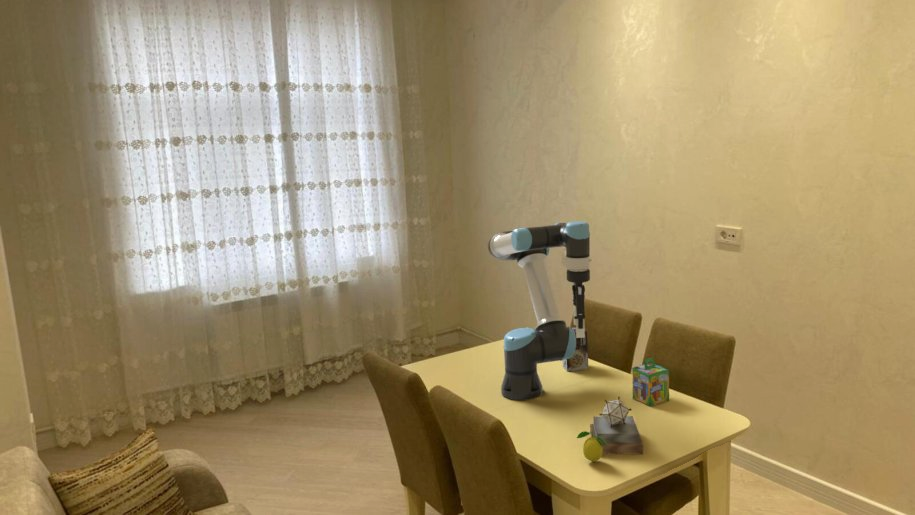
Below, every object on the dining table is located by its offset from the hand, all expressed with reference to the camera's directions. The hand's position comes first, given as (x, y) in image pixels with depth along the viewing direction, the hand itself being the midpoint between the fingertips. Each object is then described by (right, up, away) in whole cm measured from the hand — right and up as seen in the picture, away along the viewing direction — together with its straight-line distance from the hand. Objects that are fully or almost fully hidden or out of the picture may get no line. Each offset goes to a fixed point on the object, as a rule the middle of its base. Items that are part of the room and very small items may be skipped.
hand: (579, 330), depth 223 cm
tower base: (+7, -32, -20) cm, 38 cm away
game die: (+7, -26, -21) cm, 34 cm away
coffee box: (+7, -20, +45) cm, 50 cm away
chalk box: (+27, -25, +10) cm, 38 cm away
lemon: (-2, -35, -31) cm, 46 cm away
